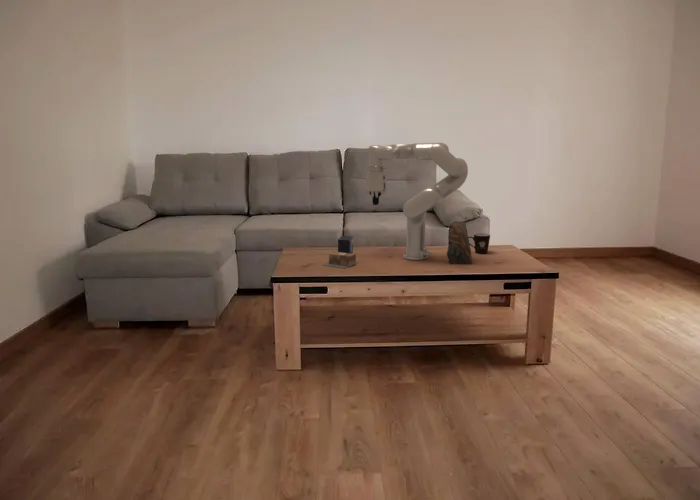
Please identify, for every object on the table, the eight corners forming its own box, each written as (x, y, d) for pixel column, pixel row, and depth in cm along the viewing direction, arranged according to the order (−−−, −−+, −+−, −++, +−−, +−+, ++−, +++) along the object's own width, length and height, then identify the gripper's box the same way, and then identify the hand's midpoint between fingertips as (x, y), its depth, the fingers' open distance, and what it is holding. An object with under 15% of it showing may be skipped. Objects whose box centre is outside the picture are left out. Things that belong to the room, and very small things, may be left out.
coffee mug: (491, 252, 317) (492, 233, 315) (486, 255, 310) (487, 236, 308) (471, 249, 323) (471, 231, 321) (465, 252, 316) (466, 234, 314)
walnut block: (355, 253, 292) (335, 251, 298) (349, 256, 287) (328, 253, 293) (355, 263, 293) (335, 261, 299) (349, 266, 288) (329, 263, 294)
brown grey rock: (447, 264, 291) (448, 225, 287) (443, 258, 303) (444, 220, 299) (472, 264, 291) (474, 224, 287) (467, 258, 303) (469, 220, 299)
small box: (349, 259, 304) (349, 239, 301) (337, 259, 305) (337, 239, 303) (353, 254, 314) (353, 235, 312) (341, 254, 315) (341, 235, 313)
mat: (358, 262, 296) (358, 262, 296) (344, 268, 285) (344, 267, 285) (336, 260, 303) (336, 259, 303) (322, 265, 292) (322, 264, 292)
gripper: (391, 169, 303) (391, 204, 307) (366, 168, 310) (366, 202, 314) (385, 170, 297) (385, 206, 301) (359, 169, 304) (359, 204, 308)
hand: (375, 204), depth 308 cm, fingers closed
